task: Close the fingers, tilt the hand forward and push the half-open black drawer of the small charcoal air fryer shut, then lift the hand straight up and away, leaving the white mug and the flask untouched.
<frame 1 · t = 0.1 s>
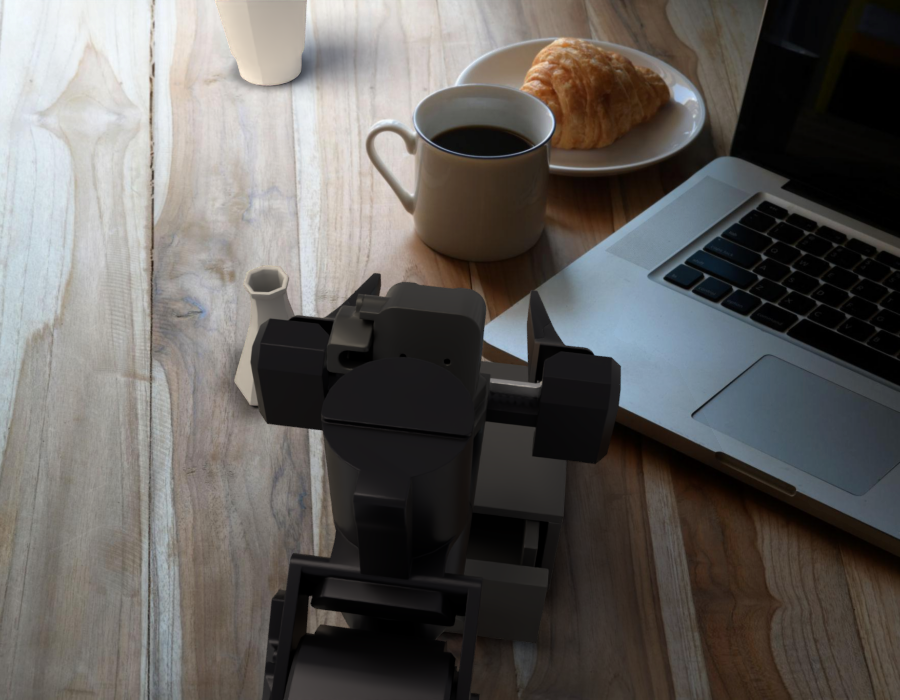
hand: (455, 287, 55), 17 cm above the table, tool horizontal, fingers open, 9 cm apart
air fryer: (470, 506, 65), on the table
cup: (270, 71, 105), on the table
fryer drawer: (462, 537, 58), point 4 cm above the table, slide at 3.0 cm
flask: (281, 376, 73), on the table
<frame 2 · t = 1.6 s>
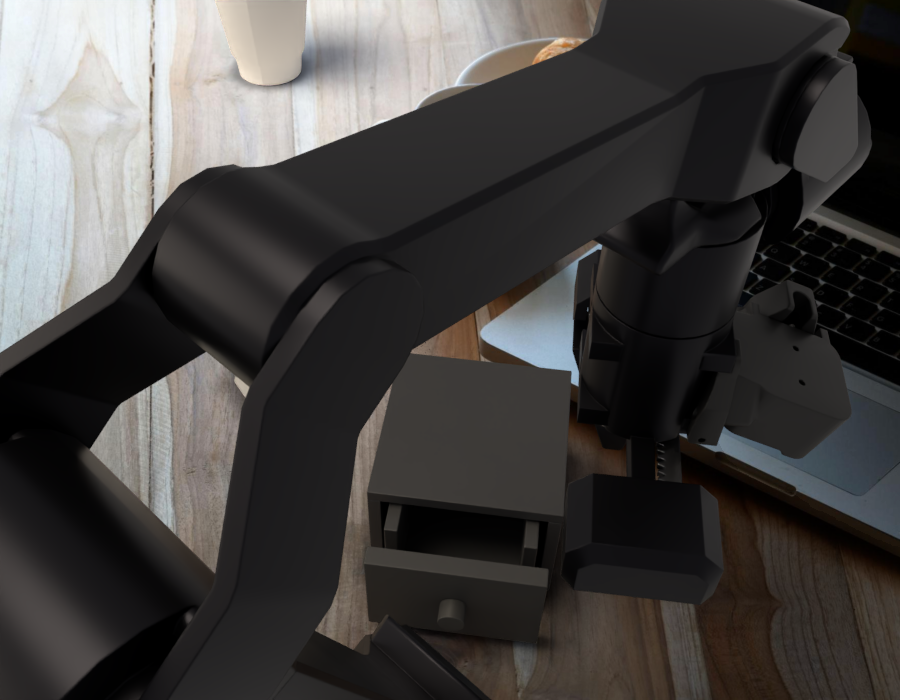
hand: (611, 506, 49), 13 cm above the table, tool pointing down, fingers open, 8 cm apart
nothing on the table moved.
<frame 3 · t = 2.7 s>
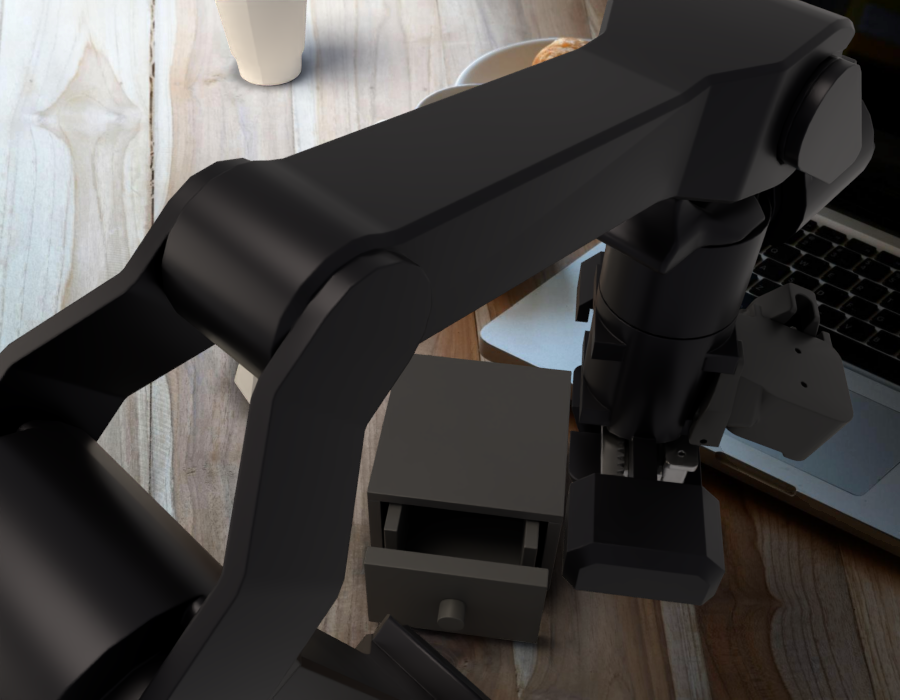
hand: (612, 508, 49), 13 cm above the table, tool pointing down, fingers closed
nothing on the table moved.
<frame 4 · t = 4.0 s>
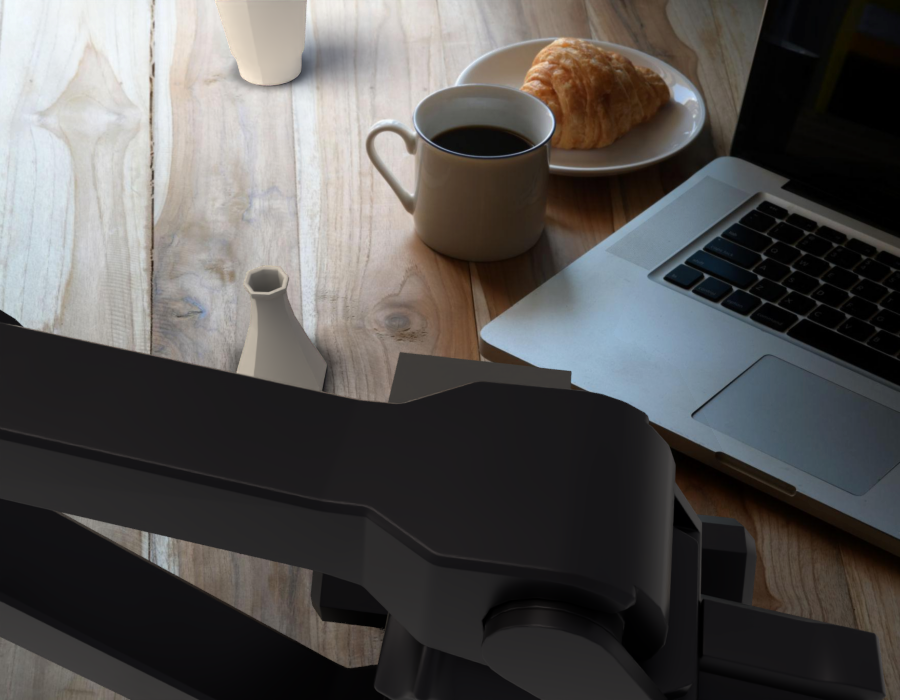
hand: (528, 531, 49), 12 cm above the table, tool tilted 45°, fingers closed
nothing on the table moved.
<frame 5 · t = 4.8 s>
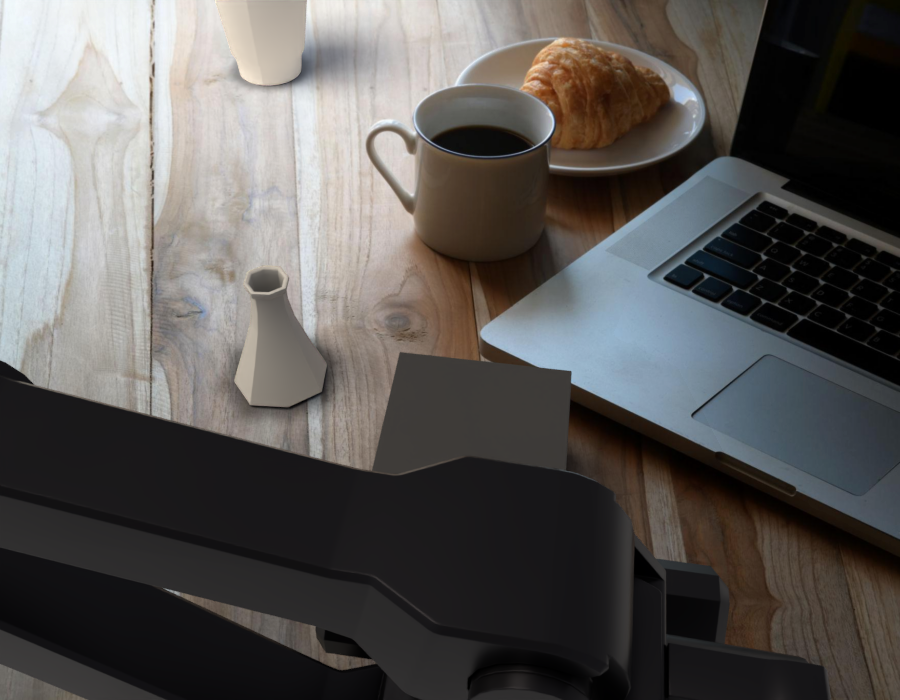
hand: (519, 566, 52), 8 cm above the table, tool tilted 45°, fingers closed, pressing on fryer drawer
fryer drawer: (463, 537, 58), point 4 cm above the table, slide at 2.9 cm, touching gripper
everything else where it was.
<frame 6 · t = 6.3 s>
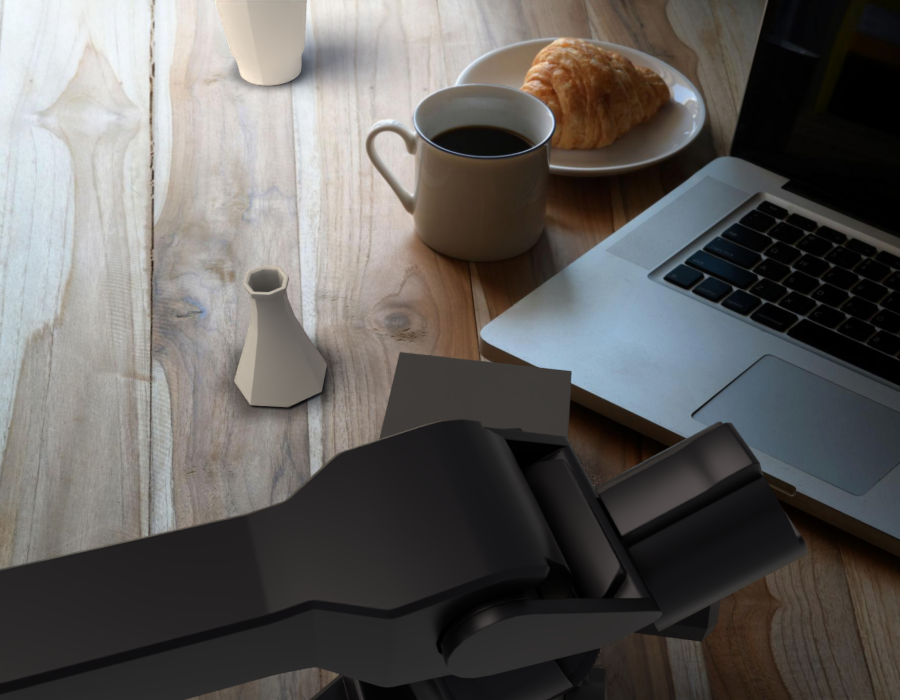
hand: (524, 517, 54), 9 cm above the table, tool tilted 45°, fingers closed
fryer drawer: (468, 498, 60), point 4 cm above the table, slide at 0.0 cm
everything else where it was.
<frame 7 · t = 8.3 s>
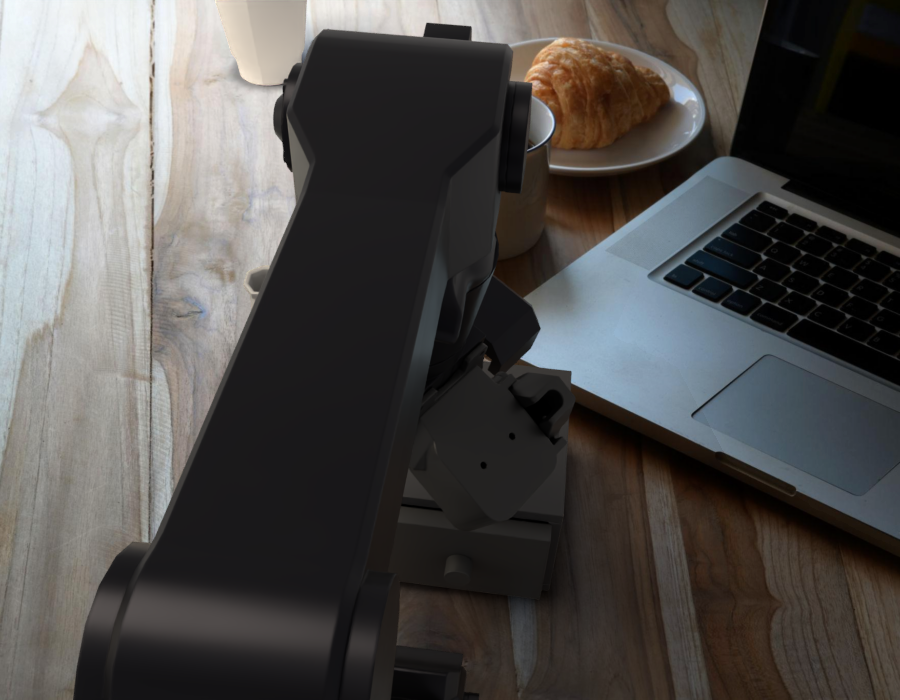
hand: (355, 477, 51), 13 cm above the table, tool pointing down, fingers closed
nothing on the table moved.
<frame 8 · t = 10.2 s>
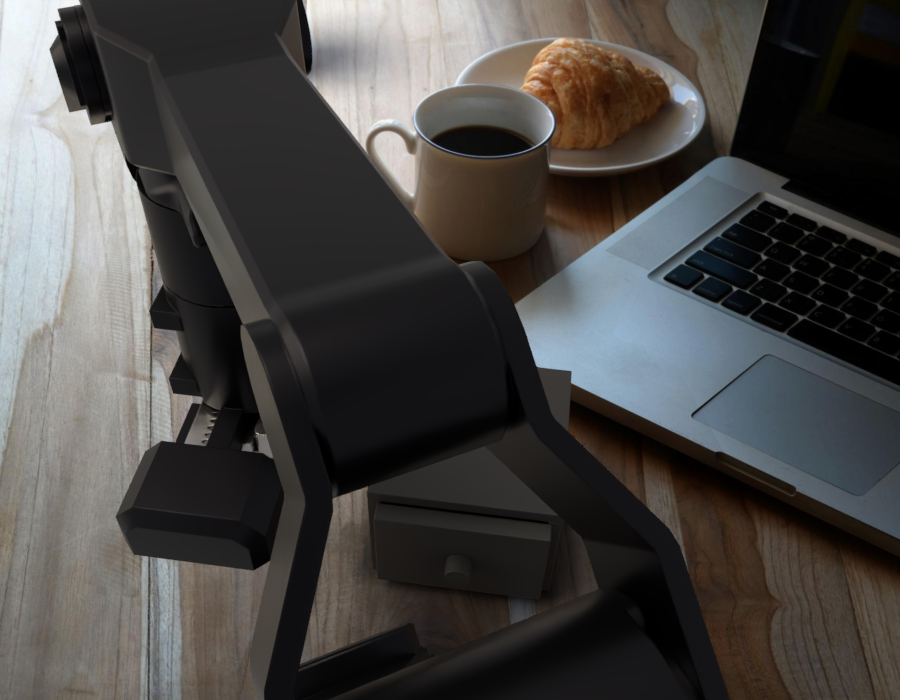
hand: (273, 483, 50), 13 cm above the table, tool pointing down, fingers closed
nothing on the table moved.
at the end: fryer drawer slide at 0.0 cm; cup moved 0.2 cm from its start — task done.
